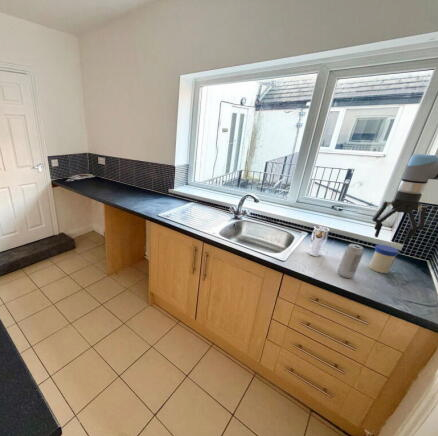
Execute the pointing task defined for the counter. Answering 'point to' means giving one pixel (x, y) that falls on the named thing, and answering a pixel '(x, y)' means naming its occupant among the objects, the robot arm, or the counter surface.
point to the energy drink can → (350, 260)
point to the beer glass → (318, 240)
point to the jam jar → (381, 262)
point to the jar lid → (386, 250)
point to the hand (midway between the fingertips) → (390, 239)
